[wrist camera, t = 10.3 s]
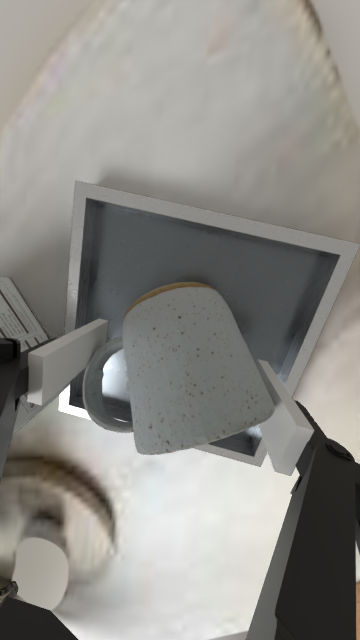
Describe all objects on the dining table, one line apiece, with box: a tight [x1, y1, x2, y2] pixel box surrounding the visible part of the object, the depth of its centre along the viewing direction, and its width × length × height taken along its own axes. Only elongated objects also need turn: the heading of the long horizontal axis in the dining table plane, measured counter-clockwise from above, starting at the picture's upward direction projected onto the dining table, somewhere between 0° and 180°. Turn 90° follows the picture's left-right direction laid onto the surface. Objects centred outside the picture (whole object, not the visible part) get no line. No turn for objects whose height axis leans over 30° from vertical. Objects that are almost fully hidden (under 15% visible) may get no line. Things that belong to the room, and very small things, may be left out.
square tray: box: [59, 181, 360, 467], centre depth 19 cm, size 22×22×2 cm
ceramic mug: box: [83, 282, 275, 455], centre depth 12 cm, size 11×8×8 cm
